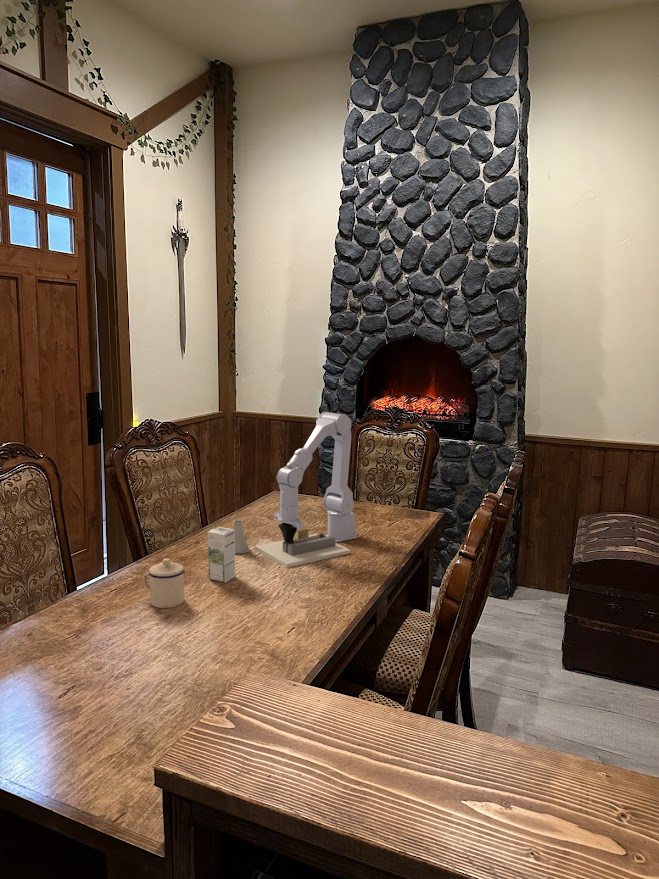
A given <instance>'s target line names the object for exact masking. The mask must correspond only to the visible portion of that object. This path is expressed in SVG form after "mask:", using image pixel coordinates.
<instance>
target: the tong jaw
mask: <svg viewBox="0 0 659 879" xmlns="http://www.w3.org/2000/svg"><path fill="white" fill-rule="evenodd" d="M325 535H326V534H324V533H322V532H321V533H320V532H319V533H318V534H317V535H316V536H310V537H305V538H300V539H295V540H290V541H285V542H283V551H284V552H285V553H288V545H289V544H293V543H298V542H303V541H308V540H313V539H318V538H323V537H326V536H325Z"/></svg>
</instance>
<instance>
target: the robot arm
mask: <svg viewBox="0 0 659 879" xmlns="http://www.w3.org/2000/svg"><path fill="white" fill-rule="evenodd" d="M315 423H316V425H315V428H314V429H313V431H312V433H311V435H309V438H308V439H307V441H306V443H305V444H304V445H303V447H302V448H298V449H297V450H295V452H294V454H293V456H292V457H291V458H290V459H289V461H288V462H287V464H286V465H285V466H283V467H281V468H280V469H279V470H278V472H277V475H276V477H275V478H276V481H277V483H278V488H279V512H275V513H274V519H275V520H276V522H278V523H280V524H278V527H279V530H280V532H281V535H282V537H283V540H284V542H285V541H290V540H293V539H294V535H295V533H296V531H297V529H298V530H300V529H304V527H305V525H304V522H303V521H302V520H301V519H300V518H299V486H300V484H302V482H303V477H304V475H305V474H304V473H305V471H306V469H307V468H308V466H309V465H310V464H311V462H312V460H313V458H314V457H313V453H314V452H315V451H316V449H317V448H318V447H319V446H320V445H321V443H322V442H323V441H324V440H325V439H326V437H330V436H331V437H332V438H333V439H334V448H333V462H332V463H333V464H332V472H331V473H332V474H331V475H332V476H331V484H330V486H328V487H327V488H326V489H325V495H324V497H323V501H322V502H323V504H322V505H323V507H324V508H325V510H326V513H327V534H324V535H325V536H326V537H328V536H333V537H336V543H339V542H343V541H348V540H354V539H357V538H358V536H357V534H356V533H357V531H356V530H357V529H356V528H357V520H356V515H355V514H354V512H353V509H354V507H355V502H354V501H355V500H354V498H353V497H354V496H353V495H354V493H353V491H352V490H351V489H350V487H349V486H348V482H349V481H348V480H349V471H350V470H349V469H350V460H351V459H350V458H351V447H352V446H351V445H352V444H351V443H352V431H351V430H352V419H351V418H350V417H349V416H348V415H347V414H346V413H335V412H328V411H323V412H321V413H320V415H319V417H318V418H317V419H316V421H315Z"/></svg>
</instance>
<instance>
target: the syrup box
mask: <svg viewBox="0 0 659 879" xmlns="http://www.w3.org/2000/svg"><path fill="white" fill-rule="evenodd" d="M207 552H208V554H207V557H208V560H207V561H208V580H211V581H215V582H221V583H224V584H225V583H227V582H229V581H230V579H231V580H233V579H234V578H235V577H236V554H235V530H234V528H229V527H228V528H227V527H221V526H217V527H214V528H211V529H210V530H208V531H207Z"/></svg>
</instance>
